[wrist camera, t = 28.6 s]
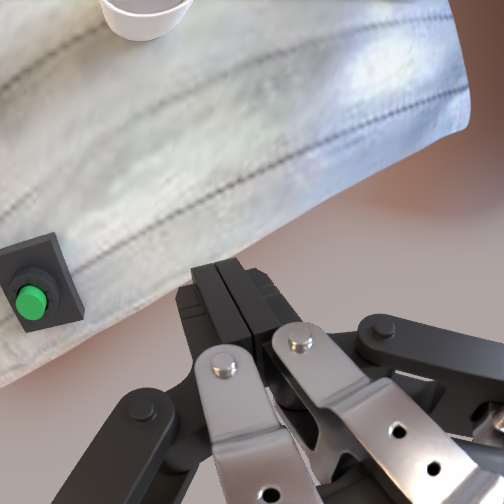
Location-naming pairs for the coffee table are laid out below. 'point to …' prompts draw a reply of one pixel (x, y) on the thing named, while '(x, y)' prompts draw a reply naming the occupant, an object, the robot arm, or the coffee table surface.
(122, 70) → the coffee table surface
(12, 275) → the control box
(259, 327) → the robot arm
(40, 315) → the button
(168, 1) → the mug
